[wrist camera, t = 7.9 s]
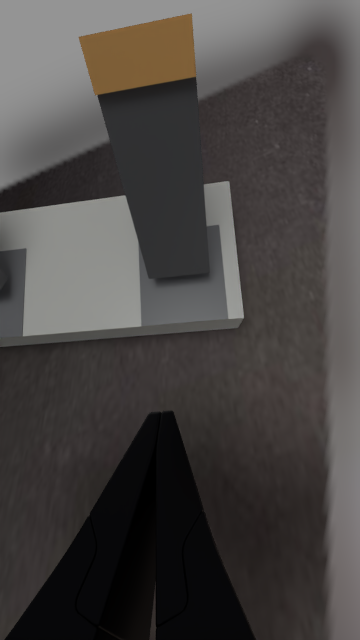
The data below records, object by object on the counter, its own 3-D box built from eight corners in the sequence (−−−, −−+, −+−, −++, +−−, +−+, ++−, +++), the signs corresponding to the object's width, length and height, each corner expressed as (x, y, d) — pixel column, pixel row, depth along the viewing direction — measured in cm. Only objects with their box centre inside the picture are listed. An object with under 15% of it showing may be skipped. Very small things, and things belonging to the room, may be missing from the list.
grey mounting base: (237, 327, 20) (244, 317, 16) (-14, 347, 22) (-64, 343, 18) (226, 215, 21) (229, 180, 17) (-7, 244, 24) (-51, 219, 20)
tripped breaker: (210, 275, 15) (191, 13, 8) (148, 282, 15) (78, 37, 8) (207, 253, 16) (190, 16, 9) (151, 259, 17) (95, 36, 10)
